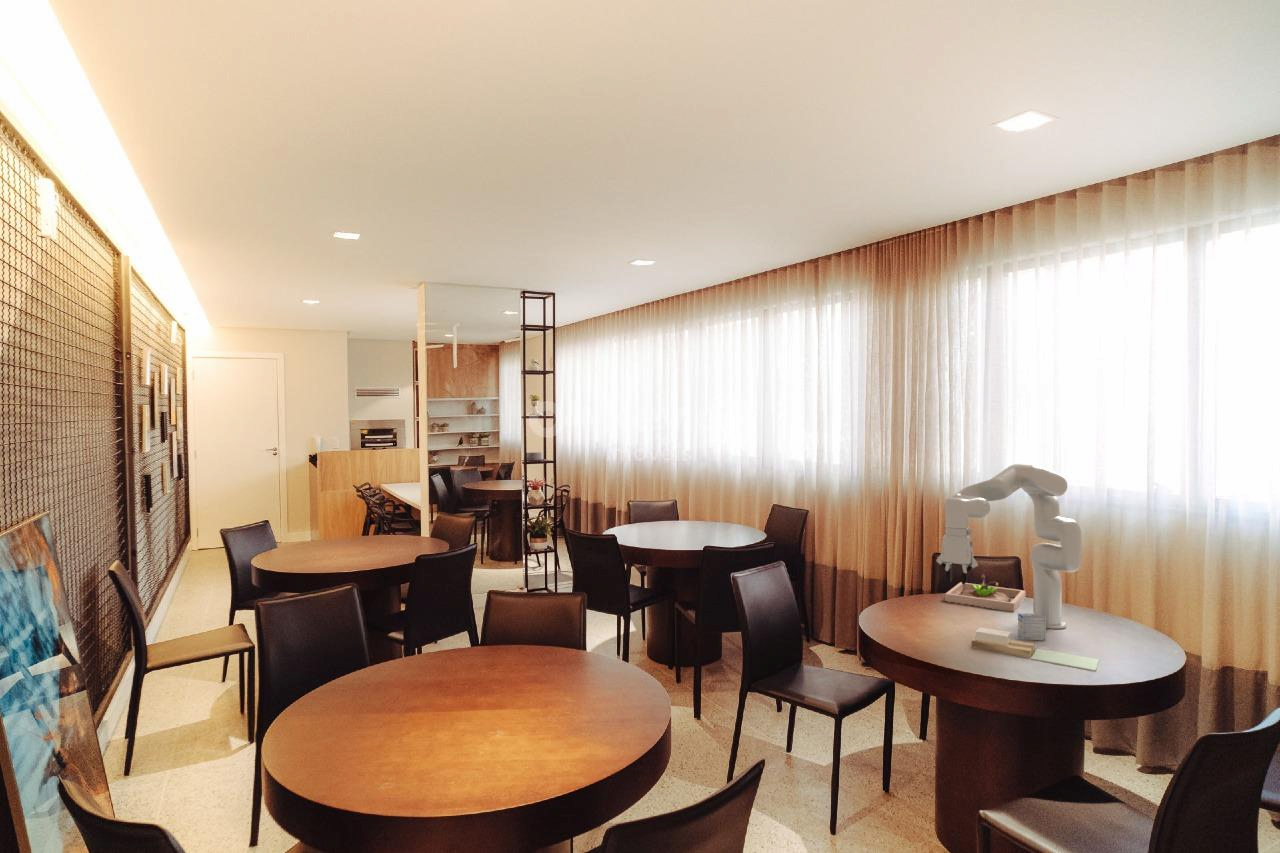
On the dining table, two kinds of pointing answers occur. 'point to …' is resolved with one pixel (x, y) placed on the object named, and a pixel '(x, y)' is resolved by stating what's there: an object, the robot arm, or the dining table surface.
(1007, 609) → the planter tray
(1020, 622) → the medicine box
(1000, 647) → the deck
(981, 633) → the cream rectangular block
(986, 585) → the plant
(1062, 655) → the mat
